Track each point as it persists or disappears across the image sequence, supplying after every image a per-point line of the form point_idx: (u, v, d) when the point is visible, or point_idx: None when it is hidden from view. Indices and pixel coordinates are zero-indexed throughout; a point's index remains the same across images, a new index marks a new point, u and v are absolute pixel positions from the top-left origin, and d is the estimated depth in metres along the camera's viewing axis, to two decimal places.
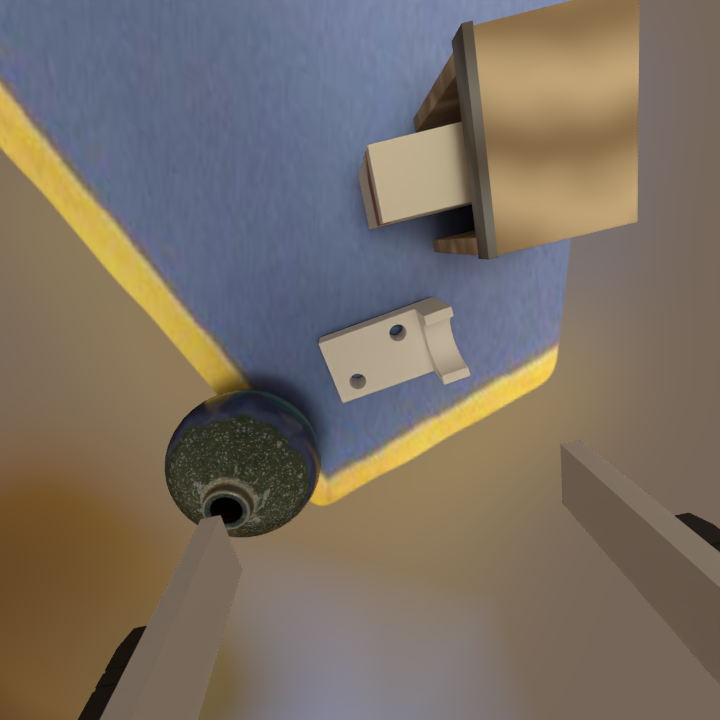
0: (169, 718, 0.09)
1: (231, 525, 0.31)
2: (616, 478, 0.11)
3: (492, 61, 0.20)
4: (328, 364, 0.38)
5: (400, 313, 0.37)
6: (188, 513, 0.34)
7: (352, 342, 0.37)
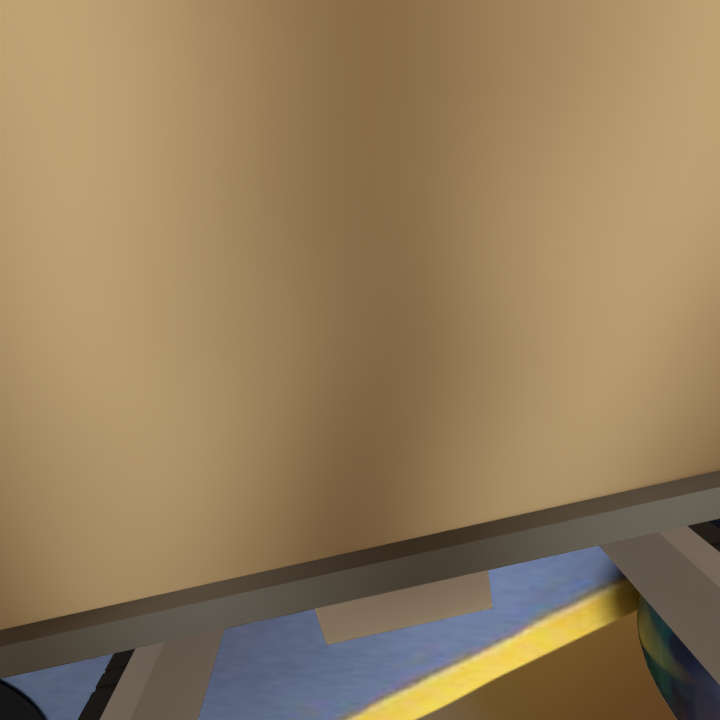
0: (169, 718, 0.09)
1: None
2: None
3: (81, 555, 0.05)
4: None
5: None
6: None
7: None
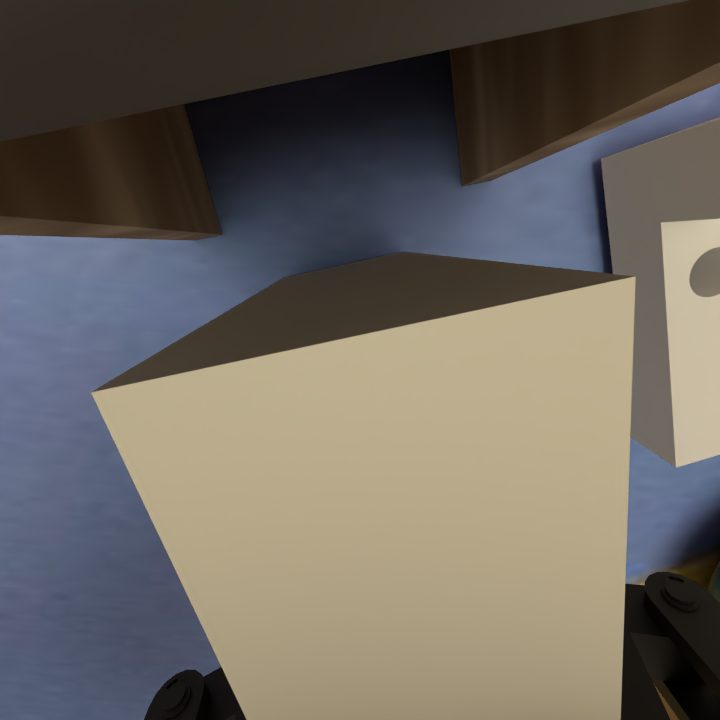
0: None
1: None
2: None
3: None
4: None
5: (656, 264, 0.13)
6: None
7: (697, 393, 0.15)
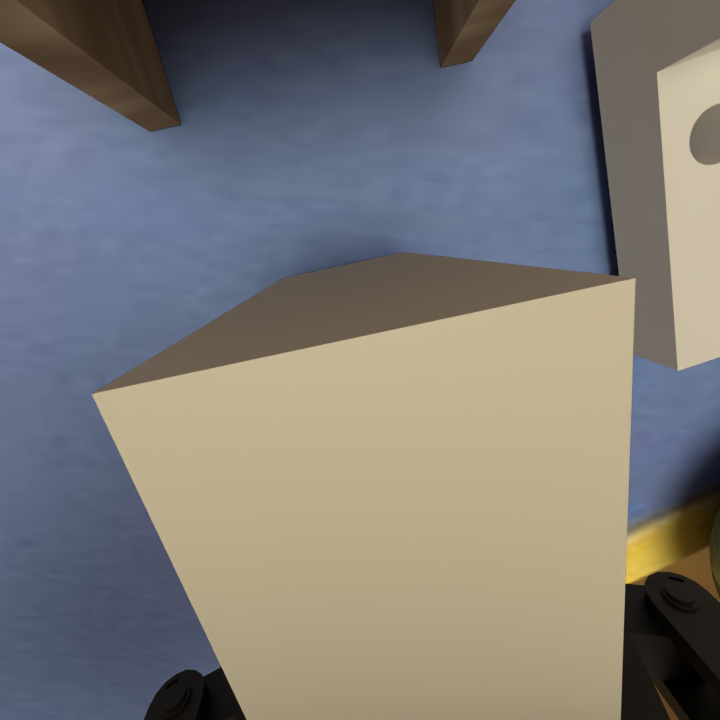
0: None
1: None
2: None
3: None
4: None
5: (653, 127, 0.12)
6: None
7: (699, 282, 0.13)
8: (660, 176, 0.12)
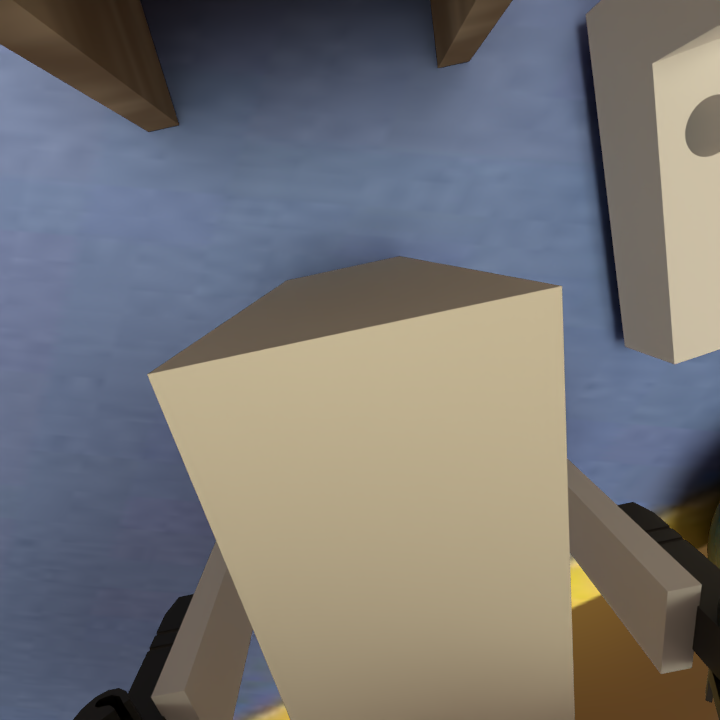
0: (220, 674, 0.09)
1: None
2: (569, 470, 0.12)
3: None
4: None
5: (648, 119, 0.12)
6: None
7: (696, 275, 0.13)
8: (656, 168, 0.12)
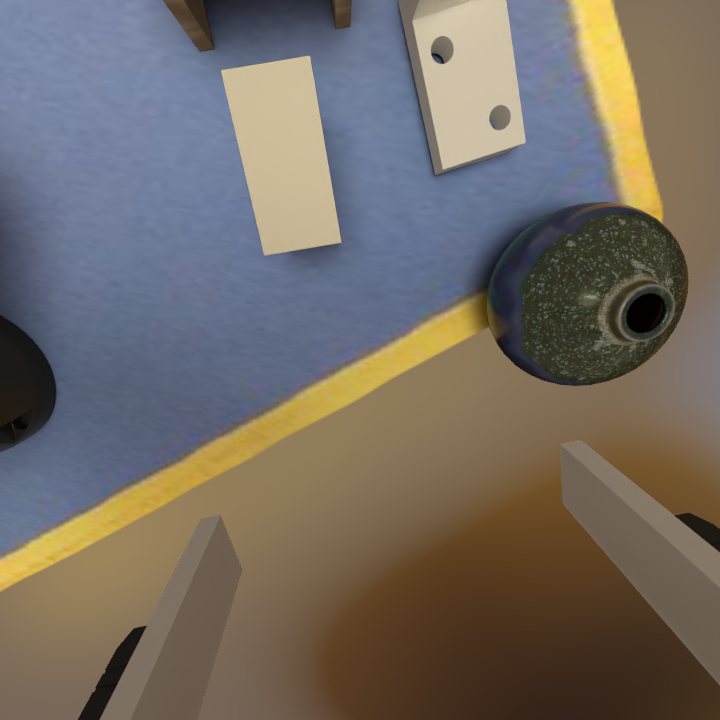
0: (169, 718, 0.09)
1: (669, 310, 0.25)
2: (616, 478, 0.11)
3: None
4: (470, 158, 0.30)
5: (416, 46, 0.28)
6: (629, 365, 0.29)
7: (446, 121, 0.29)
8: (421, 68, 0.28)
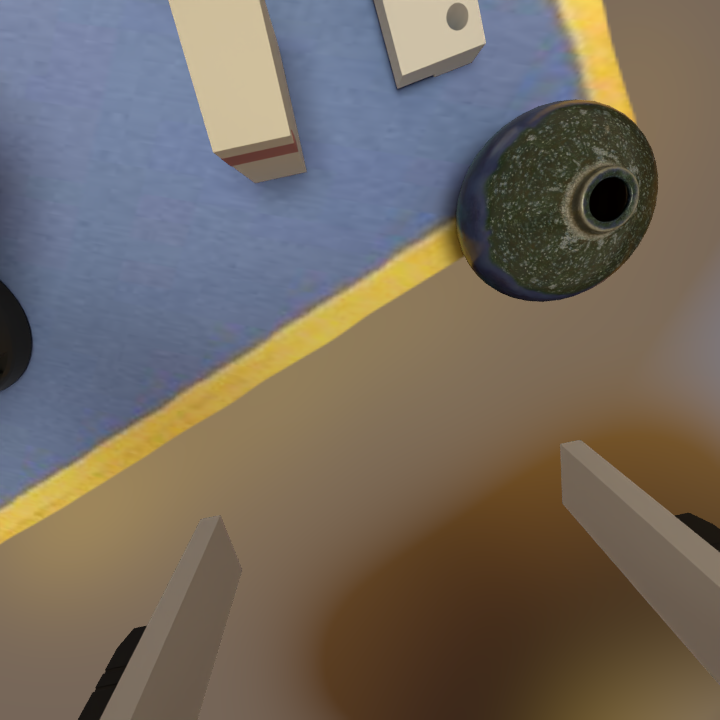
0: (169, 718, 0.09)
1: (633, 195, 0.24)
2: (616, 478, 0.11)
3: None
4: (430, 62, 0.29)
5: None
6: (600, 268, 0.28)
7: (402, 23, 0.28)
8: None
